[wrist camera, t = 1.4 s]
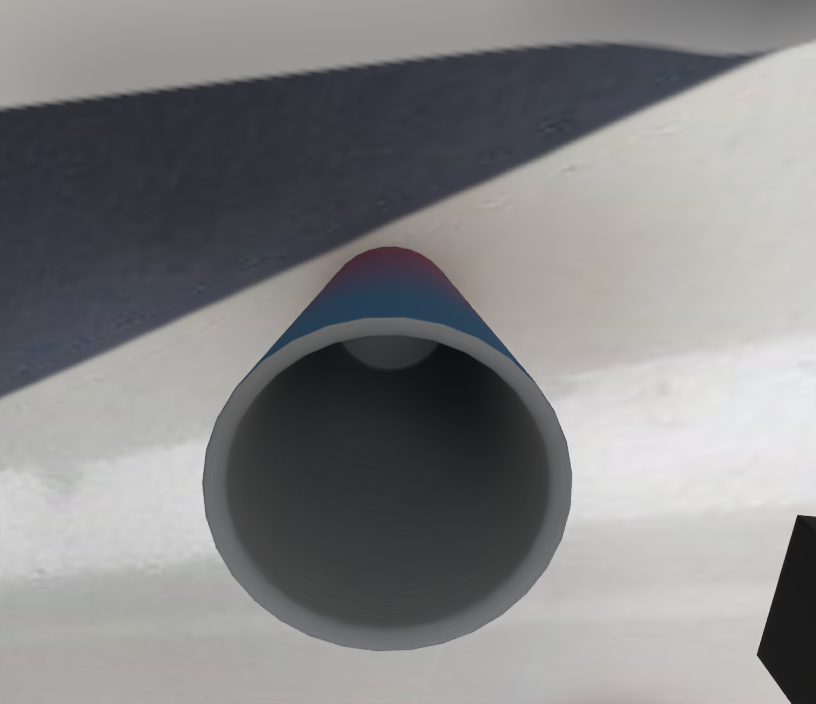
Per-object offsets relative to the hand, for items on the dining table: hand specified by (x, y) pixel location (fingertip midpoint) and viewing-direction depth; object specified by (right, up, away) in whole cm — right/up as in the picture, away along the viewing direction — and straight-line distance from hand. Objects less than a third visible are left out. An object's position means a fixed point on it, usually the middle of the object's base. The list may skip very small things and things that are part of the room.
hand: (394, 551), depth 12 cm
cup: (0, +5, +16) cm, 17 cm away
